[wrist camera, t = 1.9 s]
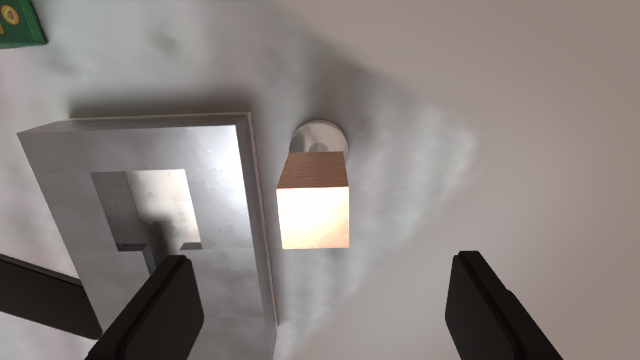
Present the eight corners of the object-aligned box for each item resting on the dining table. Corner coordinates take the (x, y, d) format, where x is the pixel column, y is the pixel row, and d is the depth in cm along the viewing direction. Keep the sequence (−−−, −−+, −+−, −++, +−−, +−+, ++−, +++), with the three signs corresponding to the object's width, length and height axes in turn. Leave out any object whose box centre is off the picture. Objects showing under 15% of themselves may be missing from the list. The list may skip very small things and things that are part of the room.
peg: (288, 120, 24) (261, 177, 14) (347, 118, 24) (362, 174, 14) (293, 174, 25) (271, 259, 15) (347, 172, 25) (361, 257, 15)
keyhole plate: (68, 117, 24) (16, 133, 20) (250, 111, 23) (235, 125, 19) (144, 328, 33) (119, 368, 29) (278, 326, 32) (271, 366, 28)
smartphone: (-44, 290, 32) (105, 337, 34) (-54, 296, 31) (100, 344, 33) (-46, 234, 29) (117, 288, 31) (-57, 239, 28) (111, 294, 30)
